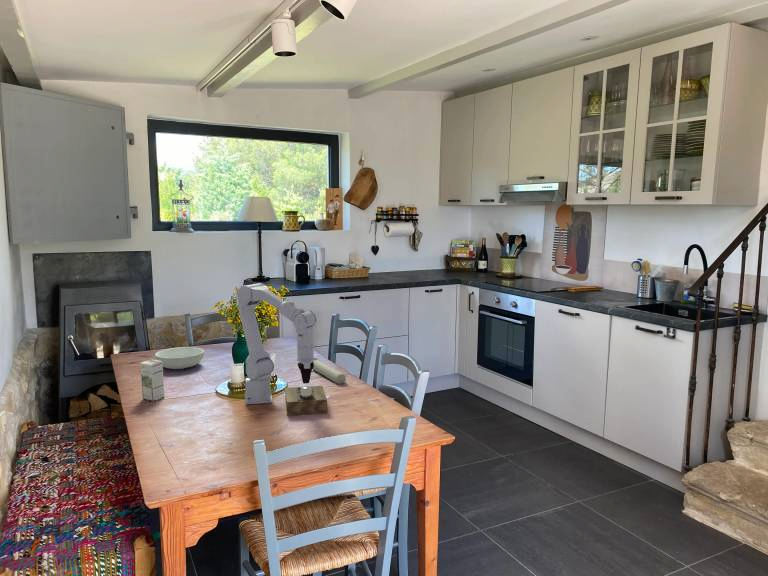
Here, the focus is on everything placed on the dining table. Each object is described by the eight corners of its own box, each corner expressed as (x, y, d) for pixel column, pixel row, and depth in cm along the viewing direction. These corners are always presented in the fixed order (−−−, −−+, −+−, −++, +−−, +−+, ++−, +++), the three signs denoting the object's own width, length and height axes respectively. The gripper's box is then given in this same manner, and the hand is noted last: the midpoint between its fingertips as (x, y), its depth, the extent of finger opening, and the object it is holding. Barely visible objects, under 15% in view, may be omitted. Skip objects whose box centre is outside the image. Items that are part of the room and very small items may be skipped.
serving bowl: (214, 364, 266) (213, 350, 265) (176, 376, 248) (175, 360, 247) (184, 358, 277) (183, 344, 276) (145, 368, 259) (144, 353, 258)
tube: (349, 374, 239) (323, 360, 260) (338, 372, 236) (312, 357, 257) (346, 387, 239) (319, 371, 259) (335, 385, 236) (309, 369, 256)
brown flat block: (287, 415, 203) (286, 401, 202) (285, 400, 218) (285, 387, 217) (327, 413, 205) (326, 398, 205) (322, 398, 221) (322, 384, 220)
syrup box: (165, 397, 221) (163, 360, 219) (153, 402, 216) (151, 364, 214) (154, 395, 224) (152, 358, 222) (141, 399, 219) (139, 362, 216)
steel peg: (301, 403, 205) (300, 389, 204) (300, 399, 209) (300, 386, 208) (312, 402, 206) (312, 389, 205) (311, 398, 210) (311, 385, 209)
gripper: (318, 350, 198) (319, 388, 200) (315, 340, 212) (315, 376, 214) (297, 351, 197) (298, 389, 199) (295, 341, 211) (296, 377, 213)
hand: (306, 382), depth 206 cm, fingers closed
